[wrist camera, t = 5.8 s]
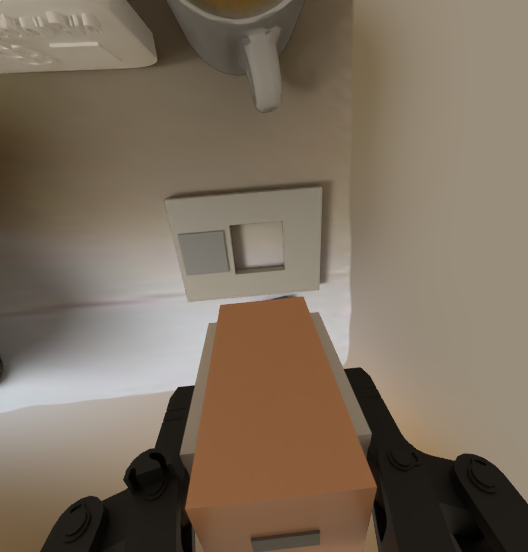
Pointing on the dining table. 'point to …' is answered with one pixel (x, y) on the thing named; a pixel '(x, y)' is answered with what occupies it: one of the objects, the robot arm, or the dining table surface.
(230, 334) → the block
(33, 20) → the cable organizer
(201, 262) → the outlet plate
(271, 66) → the coffee mug
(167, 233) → the dining table surface
